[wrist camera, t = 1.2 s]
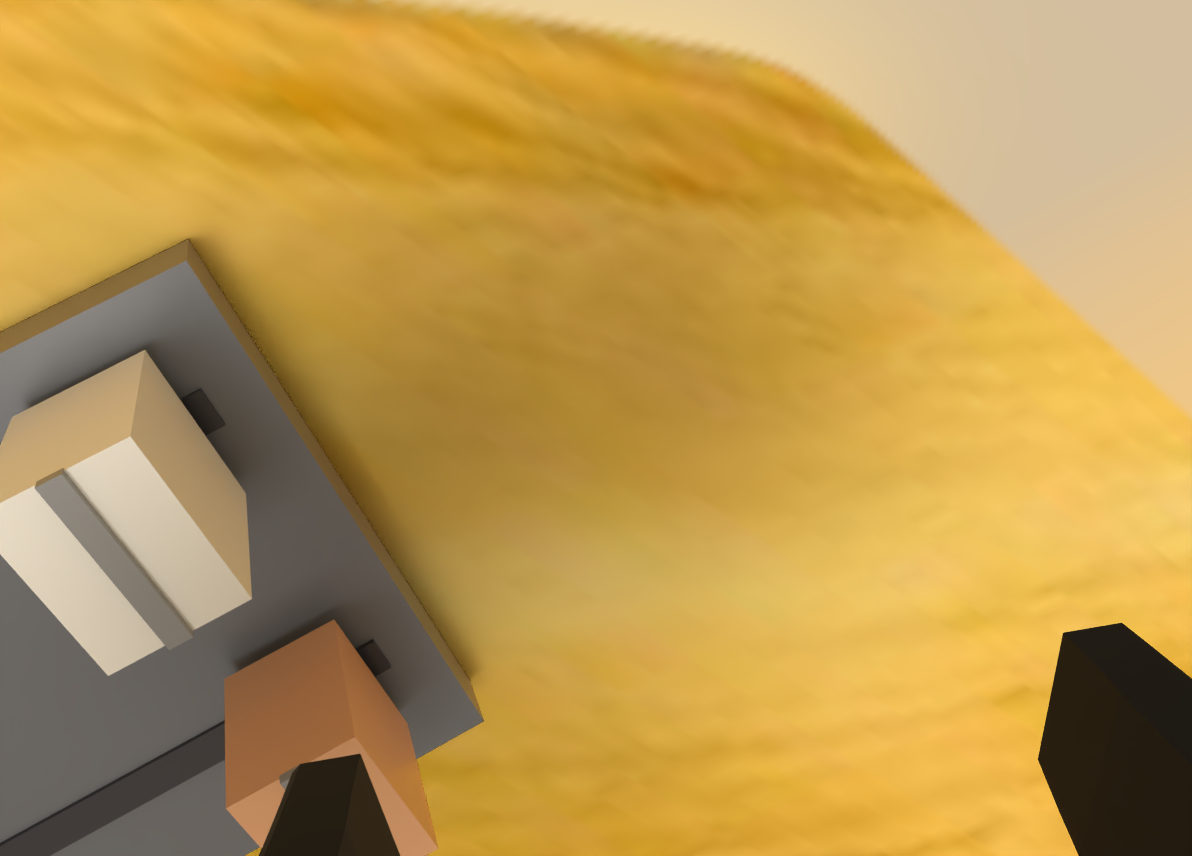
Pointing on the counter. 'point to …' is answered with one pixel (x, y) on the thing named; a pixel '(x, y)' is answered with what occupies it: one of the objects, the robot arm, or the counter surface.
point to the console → (220, 647)
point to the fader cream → (122, 514)
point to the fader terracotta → (318, 735)
